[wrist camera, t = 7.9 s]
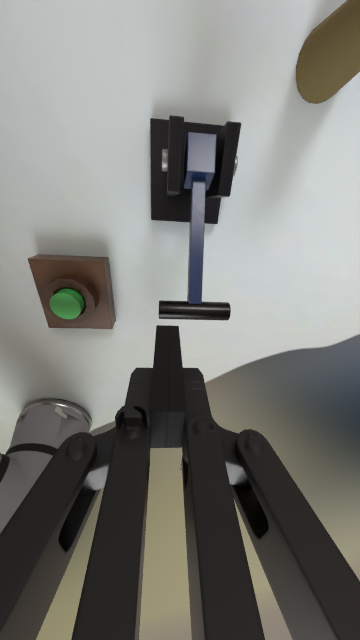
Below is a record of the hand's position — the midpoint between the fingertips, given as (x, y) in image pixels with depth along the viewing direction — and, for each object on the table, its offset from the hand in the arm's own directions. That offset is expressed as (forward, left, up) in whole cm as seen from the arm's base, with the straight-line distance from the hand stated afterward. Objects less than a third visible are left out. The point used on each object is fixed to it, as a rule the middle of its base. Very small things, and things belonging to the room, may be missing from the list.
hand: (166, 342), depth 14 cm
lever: (+6, -2, -8) cm, 10 cm away
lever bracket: (+12, -2, -20) cm, 23 cm away
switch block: (-4, +14, -20) cm, 24 cm away
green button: (-4, +14, -16) cm, 21 cm away
